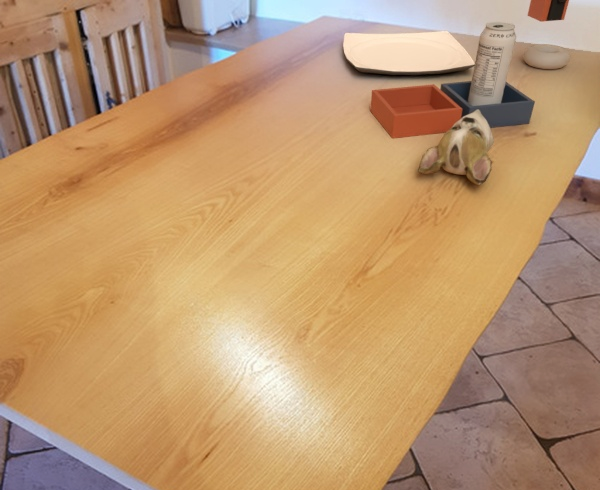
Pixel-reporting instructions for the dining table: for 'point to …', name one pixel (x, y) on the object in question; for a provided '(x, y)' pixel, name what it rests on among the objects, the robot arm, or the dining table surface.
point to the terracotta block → (542, 9)
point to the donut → (546, 56)
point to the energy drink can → (492, 63)
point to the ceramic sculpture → (462, 150)
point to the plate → (406, 53)
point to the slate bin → (506, 113)
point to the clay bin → (414, 110)
